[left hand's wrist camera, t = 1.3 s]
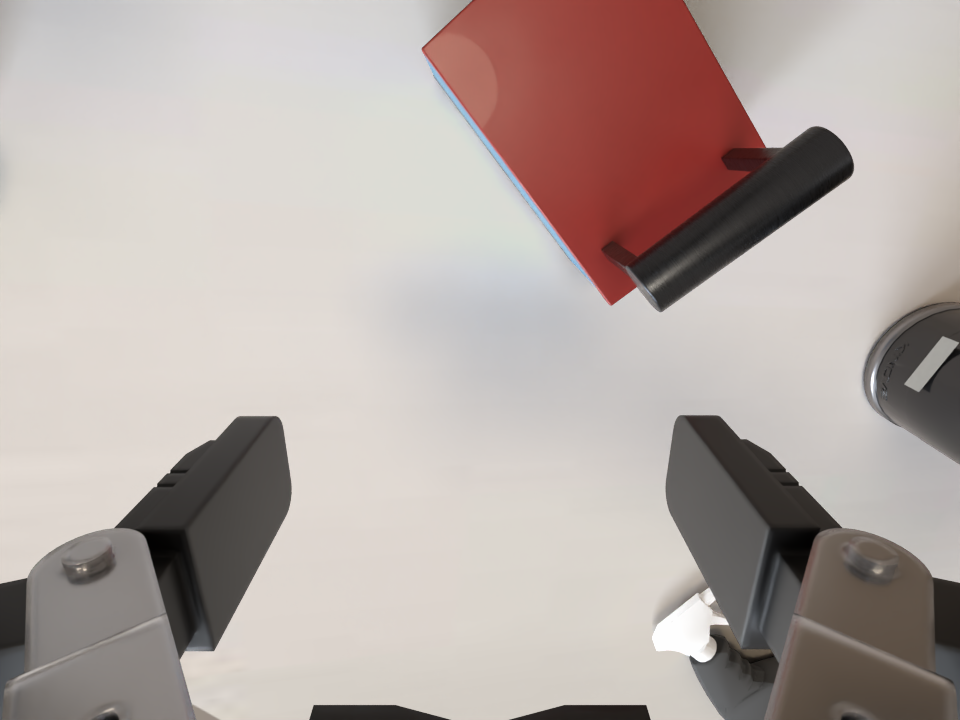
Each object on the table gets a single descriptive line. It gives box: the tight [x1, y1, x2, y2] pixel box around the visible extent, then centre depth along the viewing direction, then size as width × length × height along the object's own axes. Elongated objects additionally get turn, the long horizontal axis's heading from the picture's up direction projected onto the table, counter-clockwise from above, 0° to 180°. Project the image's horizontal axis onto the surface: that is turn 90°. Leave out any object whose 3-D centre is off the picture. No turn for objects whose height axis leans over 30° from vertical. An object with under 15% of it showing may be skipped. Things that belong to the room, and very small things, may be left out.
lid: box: [422, 0, 854, 312], centre depth 21 cm, size 14×10×9 cm
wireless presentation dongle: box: [652, 588, 779, 720], centre depth 49 cm, size 3×11×24 cm
